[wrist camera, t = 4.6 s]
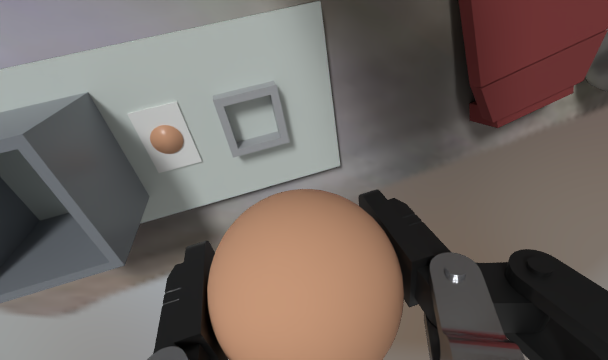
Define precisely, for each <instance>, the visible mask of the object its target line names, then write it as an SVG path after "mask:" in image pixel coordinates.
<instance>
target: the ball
mask: <svg viewBox="0 0 608 360" xmlns="http://www.w3.org/2000/svg"><path fill="white" fill-rule="evenodd" d="M207 293H208V310H209V315H210V320H211V324H212V328H213V331H214V333H215V336H216V338H217V341H218V343H219V344H220V346H221V348H222V350H223V351H224V353H225V355H226V356H227V358H228V359H229V360H383V358H384V357H385V355H386V354H387V352H388V350H389V349H390V347H391V345H392V343H393V341H394V339H395V336H396V334H397V331H398V328H399V325H400V321H401V317H402V311H403V301H404V288H403V276H402V272H401V268H400V264H399V260H398V257H397V255H396V252H395V250H394V247H393V245H392V244H391V242H390V240H389V238H388V237H387V235H386V233H385V232H384V230H383V229H382V228H381V227H380V225H379V224H378V223H377V222H376V221H375V220H374V218H373V217H372V216H370V215H369V214H368V213H367V212H366V211H364V210H363V209H362V208H361V207H360V206H358V205H357V204H355V203H353V202H351V201H350V200H348V199H346V198H344V197H342V196H339V195H336V194H333V193H330V192H326V191H321V190H314V189H298V190H290V191H285V192H281V193H277V194H275V195H272V196H269V197H267V198H265V199H263V200H261V201H259V202H258V203H256V204H255V205H253V206H251V207H250V208H249V209H247V210H246V211H245V212H244V213H242V214H241V215H240V216H239V217H238V218H237V219H236V220H235V222H234V223H233V224H232V225H231V226H230V228H229V229H228V230H227V232H226V233H225V235H224V236H223V238H222V240H221V242H220V244H219V246H218V248H217V249H216V252H215V255H214V258H213V261H212V264H211V267H210V272H209V279H208V287H207Z"/></svg>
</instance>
